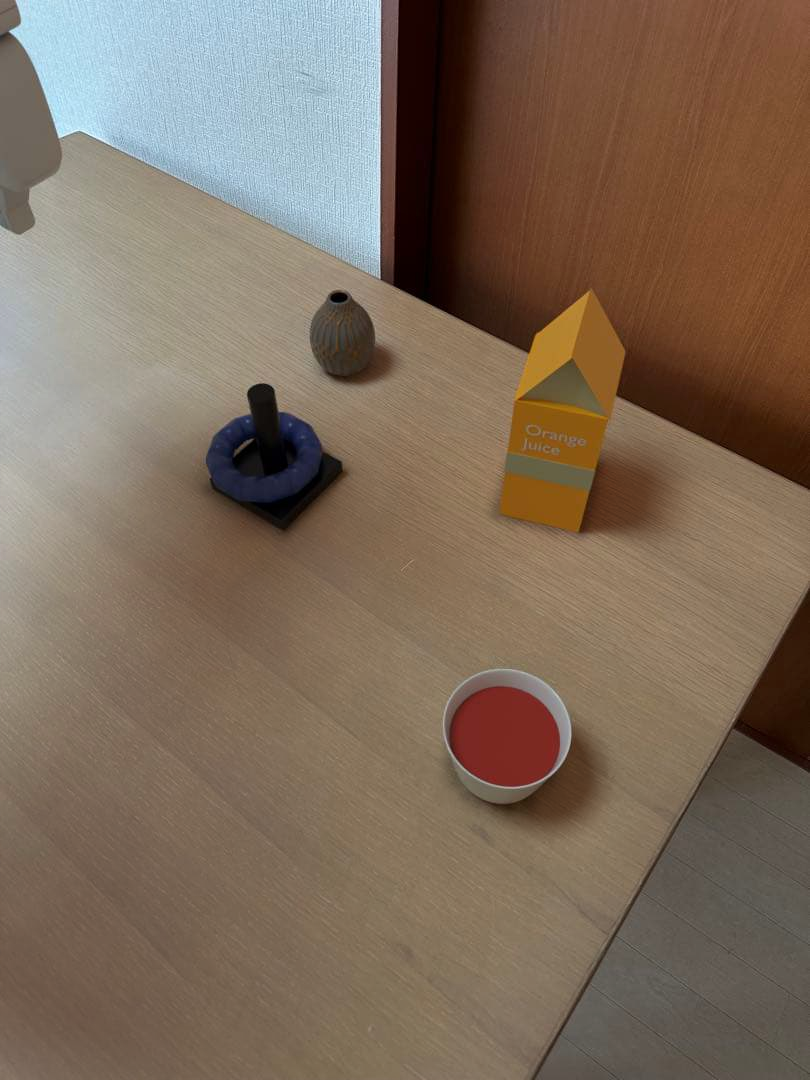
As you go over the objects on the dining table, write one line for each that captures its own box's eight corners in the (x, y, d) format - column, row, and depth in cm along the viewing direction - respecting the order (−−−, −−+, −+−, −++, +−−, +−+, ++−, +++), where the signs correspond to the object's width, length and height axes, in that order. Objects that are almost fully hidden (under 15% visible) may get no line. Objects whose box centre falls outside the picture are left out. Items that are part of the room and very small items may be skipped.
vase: (353, 393, 88) (348, 327, 81) (300, 371, 90) (290, 303, 83) (388, 356, 91) (386, 289, 84) (336, 335, 93) (330, 268, 86)
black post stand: (283, 531, 77) (265, 445, 68) (212, 489, 80) (185, 401, 71) (343, 471, 81) (334, 383, 72) (273, 433, 84) (256, 344, 75)
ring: (270, 525, 75) (267, 509, 73) (186, 473, 79) (180, 456, 77) (345, 454, 80) (343, 437, 79) (262, 408, 84) (258, 391, 82)
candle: (462, 691, 67) (466, 652, 62) (571, 729, 65) (585, 692, 60) (423, 793, 62) (424, 760, 57) (540, 838, 60) (552, 808, 55)
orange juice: (497, 514, 78) (519, 346, 62) (518, 448, 83) (543, 277, 67) (580, 533, 76) (625, 367, 60) (596, 465, 81) (641, 294, 65)
